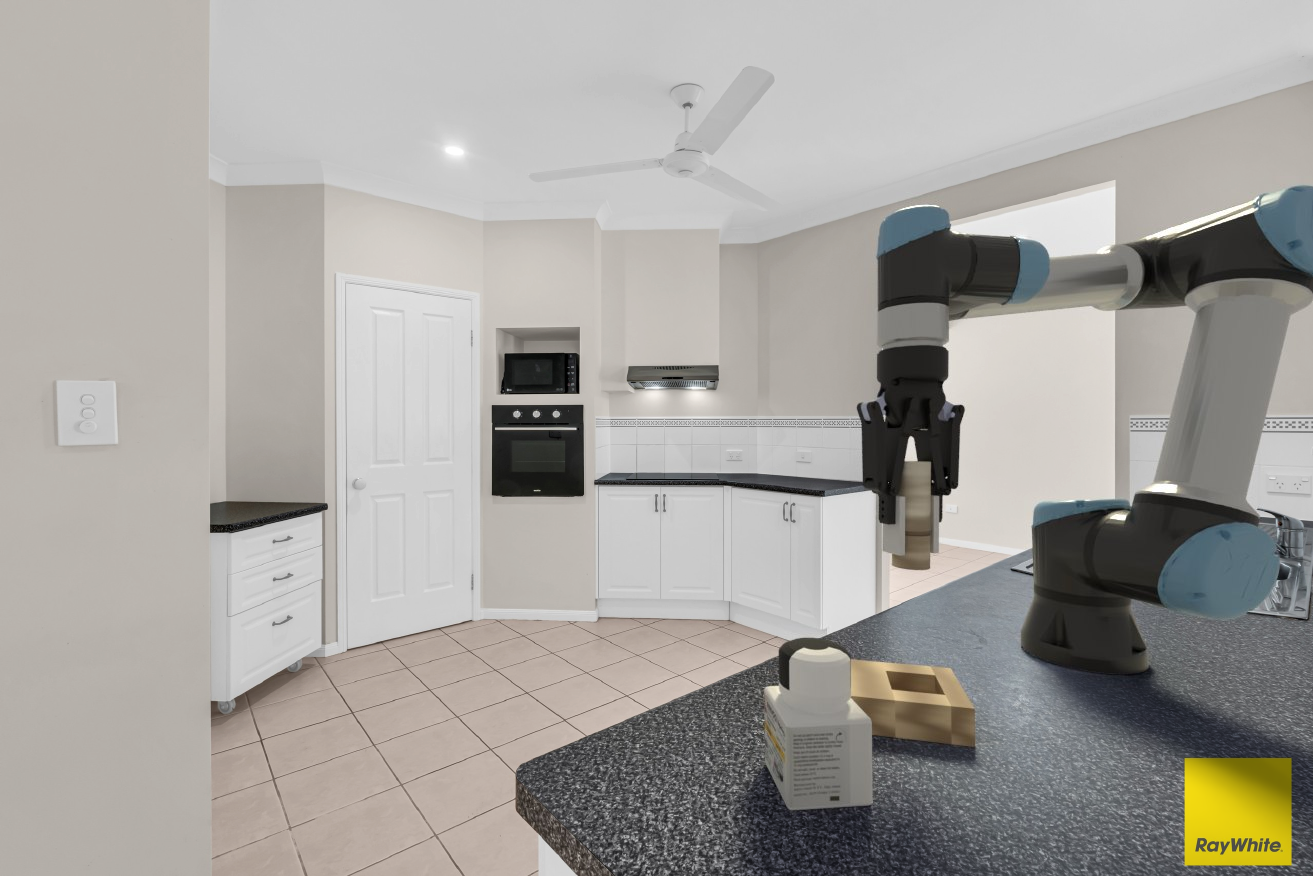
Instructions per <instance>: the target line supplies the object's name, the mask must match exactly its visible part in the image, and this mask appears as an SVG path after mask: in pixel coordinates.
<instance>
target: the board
mask: <svg viewBox="0 0 1313 876" xmlns="http://www.w3.org/2000/svg"><path fill="white" fill-rule="evenodd" d="M951 668H952V667H951ZM951 668H950V667H941V666H940V667H939V666H931V665H920V664H910V663H909V664H908V663H898V662H896V663H895V662H884V661H883V662H882V661H874V660H873V661H872V660H863V659H861V660H860V659H852V658H851V699H852V700H853V701H854V702H855V703H856V704H857V705H858V706H859V707H860V708H861V709H862V710H863V711H864V712H865V713H866V714H867V716H868V717H869V718H870V719H871V721H872V736H879V737H887V738H889V737H890V738H897V739H904V740H912V741H913V740H915V741H919V742H920V741H921V742H929V743H930V742H931V743H938V744H945V745H946V744H947V745H954V746H955V745H956V746H963V747H970V748H971V747H972V748H975V747H976V708H975V707H974V705H973V703H972V702H971V700H970V699H969V696H968V694H967V693H966V691H965V690H964V689H963V687H962V685H961V683H960V682H959V680H958V678H957V677H956V675H955V674H954V671H953V670H952V669H951Z"/></svg>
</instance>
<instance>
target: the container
mask: <svg viewBox="0 0 1313 876" xmlns="http://www.w3.org/2000/svg"><path fill="white" fill-rule="evenodd" d="M851 659H852V657H851V653H849V652H848V650H847V649H846V648H845V647H843V646H842V645H840V644H838V643H837V642H834V641H831V640H829V639H824V638H821V637H820V638H819V637H797V638H794V639H791V640H788V641H786V642H784V643H782V645H781V646H780V647H779V648H778V685H774V686H773V685H772V686H771V685H769V686H765V687H764V688H763V689H764V691H763V694H764V695H763V696H764V697H763V699H764V700H763V701H764V703H763V704H764V710H763V712H764V715H763V716H764V761H765V762H764V763H765V765H766V767H767V769H768V771H769V773H770V776H771V777H772V779H773V781H774V783H775V785H776V788H777V790H778V791H779V794H780V796H781V797H782V800H783V801H784V804H785V805H786V808H787V809H788V810H789V811H802V810H803V811H805V810H818V809H819V810H820V809H832V808H833V809H834V808H835V809H836V808H848V807H852V808H853V807H867V806H870V805H872V804H873V735H872V721H871V719H870V718H869V717H868V716H867V714H866V713H865V712H864V711H863V710H862V709H861V708H860V707H859V706H858V705H857V704H856V703H855V702H854V701H853V700H852V699H851Z"/></svg>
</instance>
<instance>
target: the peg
mask: <svg viewBox="0 0 1313 876" xmlns="http://www.w3.org/2000/svg"><path fill="white" fill-rule="evenodd" d="M897 496H904V497H905V555H901V556H899V555H895V554H891V566H892V567H895V568H897V569H902V570H908V571H909V570H910V571H927V570H928V571H929V570H930V569H931V553H930V535H931V530H930V518H931V462H926V461H917V460H905V462H904V467H903V473H902V479H901V485H900V490H899V494H898V495H897Z"/></svg>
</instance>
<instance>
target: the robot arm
mask: <svg viewBox="0 0 1313 876" xmlns="http://www.w3.org/2000/svg"><path fill="white" fill-rule="evenodd" d="M950 220H951V219H950V213H949V212H948V211H947V210H946V209H944V208H941V206H938V205H933V204H932V205H929V204H924V205H923V204H921V205H914V206H908V207H905V208H902V209H901V208H900V209H899V210H896V211H894V212H892V213H891V214H890V215H888V216H886V217H885V218H884V219H883V220H882V222H881V223H880V226H879V232H878V236H877V237H878V238H877V250H876V251H877V252H876V256H875V257H876V260H877V315H876V317H877V322H876V323H877V324H876V325H877V327H876V329H877V331H876V332H877V333H876V334H877V336H876V337H877V339H876V340H877V341H876V344H877V346H878V347H879V348H881V349H882V350H879V351H878V353H877V354H876V379H877V382H878V383H879V384H880V387H879V391H878V393H877V394H876V398H874V399H871V400H869V401H864V402H862V401H861V402H858V403H857V405H856V411H857V413H858V417H859V420H860V423H861V460H862V461H861V463H862V466H861V467H862V487H863V488H864V489H869V490H870V491H871V492H872V493H873V494H876V495H878V496H877V497H878V521H879V523H880V524H882V552H883V553H884V552H885V553H888V554H891V555H892V554H895V555H899V556H901V555H905V497H904V496H897V495H898V494H899V490H900V485H901V479H902V473H903V467H904V462H905V461H906V455H907V450H908V443H909V440H910V438H913V441H914V448H915V454H916V461H926V462H931V518H930V530H931V535H930V554H940V523H942V521H943V506H944V505H943V502H944V501H943V500H944V499H943V496H950V495H951V494H952V490H956V489H957V488H958V487H959V478H960V477H959V472H960V469H959V468H960V449H961V448H960V445H961V424H962V421H963V419H964V418H963V417H964V415H965V411H966V407H965V406H964V405H963V404H953V403H951V402H949V401H947V397H946V394H945V392H944V388H943V387H944V386H943V384H944V383H945V381H947V380H948V379H949V368H950V367H949V359H950V358H949V357H950V356H949V354H950V353H949V350H948V349H947V348H946V347H945V345H946V344H947V343H949V342H950V322H951V321H952V322H953V321H957V320H965V319H966V320H968V319H974V318H975V319H976V318H988V317H995V316H1005V315H1014V314H1015V315H1016V314H1025V313H1026V314H1027V313H1036V312H1044V311H1055V310H1065V309H1066V310H1067V309H1073V308H1074V309H1075V308H1083V307H1084V308H1085V307H1092V308H1094V309H1096V310H1098V311H1104V312H1111V311H1123V310H1125V311H1126V310H1139V309H1140V310H1142V309H1145V310H1146V309H1165V308H1176V307H1177V308H1178V307H1179V308H1180V307H1186V306H1187V307H1188V308H1189V309H1190V310H1192V311H1193V312H1194V313H1195V317H1194V321H1193V325H1192V328H1191V333H1190V337H1189V341H1188V344H1187V349H1186V353H1185V356H1184V360H1183V363H1182V368H1181V371H1180V376H1179V380H1178V384H1177V388H1176V390H1175V396H1174V400H1173V404H1172V408H1171V412H1170V416H1169V420H1168V424H1167V427H1166V432H1165V435H1164V439H1163V443H1162V446H1161V447H1162V448H1161V451H1160V455H1159V458H1158V462H1157V466H1156V467H1157V468H1156V471H1155V475H1154V478H1153V482H1152V483H1150V485H1147V486H1145V487H1144V488H1142V489H1140V490H1138V491H1135V492H1134V495H1133V500H1132V503H1130V501H1129V500H1128V499H1126V498H1106V499H1105V498H1103V499H1102V498H1101V499H1073V500H1071V499H1070V500H1068V499H1067V500H1047V501H1046V500H1045V501H1041V502H1039V503H1037V504H1036V506H1034V509H1033V512H1032V513H1033V516H1032V525H1031V538H1032V541H1031V543H1032V545H1031V546H1032V568H1033V569H1032V570H1033V573H1032V575H1033V598H1032V601H1031V603H1030V605H1029V607H1028V611H1027V613H1026V616H1025V619H1024V621H1023V624H1022V626H1021V629H1020V646H1021V648H1022V647H1023V648H1022V649H1023V650H1024V649H1025V650H1026V651H1027V653H1028V652H1029V653H1028V654H1030V655H1031V654H1032V655H1031V656H1033V655H1034V657H1035V656H1036V658H1037V659H1040V660H1043V661H1045V662H1048V663H1051V664H1053V665H1058V666H1061V667H1065V668H1069V669H1073V670H1077V671H1083V672H1090V673H1097V674H1098V673H1099V674H1105V675H1106V674H1107V675H1108V674H1109V675H1133V674H1141V673H1143V672H1145V671H1147V670H1148V669H1149V666H1150V665H1149V650H1148V647H1147V644H1146V642H1145V639H1144V637H1143V635H1142V632H1141V630H1140V626H1139V624H1138V622H1137V620H1136V617H1135V615H1134V612H1133V609H1132V600H1135V601H1138V602H1142V603H1146V604H1149V605H1151V606H1156V607H1160V608H1164V609H1167V610H1169V611H1171V612H1175V613H1178V614H1180V615H1185V616H1196V617H1199V618H1205V619H1208V620H1215V621H1216V620H1217V621H1228V620H1232V619H1237V618H1241V617H1243V616H1245V615H1246V614H1247V613H1248V612H1251V611H1254V610H1255V609H1257V608H1258V607H1260V606H1261V605H1262V603H1264V602H1265V600H1266V599H1267V598H1268V597H1269V596H1270V594H1271V592H1272V591H1273V589H1274V587H1275V584H1276V583H1277V580H1278V577H1279V571H1280V564H1281V559H1280V556H1279V555H1277V554H1276V552H1277V550H1278V547H1277V544H1276V542H1275V541H1274V539H1273V538H1272V536H1271V535H1270V534H1269V533H1267V532H1266V531H1265V530H1263V529H1262V528H1259V525H1260V519H1261V515H1260V513H1258V512H1257V511H1256V509H1255V508H1253V507H1252V505H1251V504H1250V503H1249V502H1248V500H1247V495H1248V492H1249V487H1250V482H1251V480H1252V475H1253V471H1254V466H1255V463H1256V459H1257V454H1258V450H1259V446H1260V442H1261V438H1262V434H1263V429H1264V426H1265V422H1266V417H1267V413H1268V409H1269V405H1270V401H1271V397H1272V393H1273V388H1274V384H1275V380H1276V376H1277V372H1278V367H1279V363H1280V361H1281V355H1282V351H1283V348H1284V343H1285V340H1286V335H1287V331H1288V327H1289V323H1290V319H1291V316H1292V315H1294V314H1296V313H1298V312H1299V311H1302V310H1303V309H1305V308H1307V307H1309V305H1312V304H1311V303H1312V302H1313V185H1307V184H1305V185H1304V184H1299V185H1294V186H1289V187H1286V188H1283V189H1280V190H1277V191H1273V192H1270V193H1268V192H1267V193H1262V194H1260V195H1257V196H1256V197H1254V199H1251V200H1248V201H1246V202H1242V203H1239V204H1237V205H1234V206H1232V207H1227V208H1225V209H1222V210H1219V211H1216V212H1213V213H1211V214H1207V215H1204V216H1201V217H1199V218H1195V219H1192V220H1189V221H1187V222H1184V223H1181V224H1178V225H1174V226H1172V227H1169V228H1167V229H1164V230H1162V231H1158V232H1156V233H1154V234H1150V235H1148V236H1145V237H1143V238H1139V239H1137V240H1133V241H1130V242H1126V243H1117V244H1110V245H1107V246H1104V247H1102V248H1100V249H1099V250H1097V251H1096V252H1095V253H1086V254H1085V253H1084V254H1075V255H1074V254H1073V255H1072V254H1071V255H1060V256H1052V257H1050V254H1049V252H1048V250H1047V248H1046V247H1045V246H1044V245H1043V244H1042V243H1041V242H1040V241H1037V240H1034V239H1027V238H1020V237H1017V236H1016V235H1009V236H1001V235H987V234H973V233H962V232H959V231H952V230H951V228H952V224H951V221H950ZM884 416H885V418H884ZM1025 650H1024V651H1025ZM1026 651H1025V652H1026Z"/></svg>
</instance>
